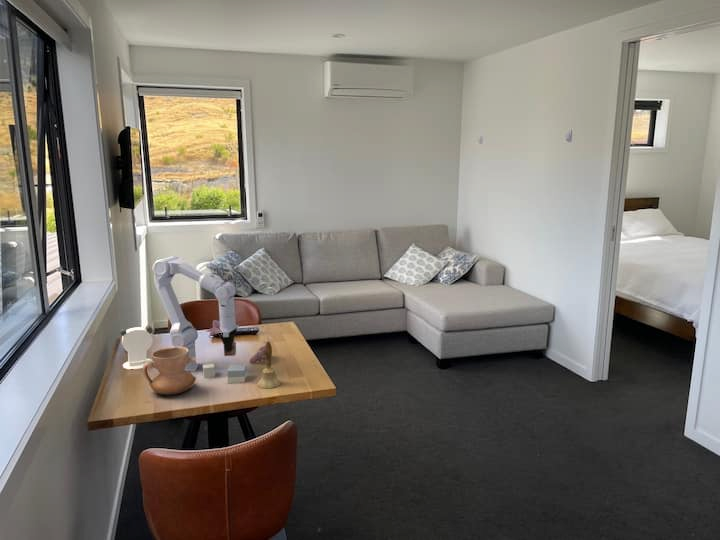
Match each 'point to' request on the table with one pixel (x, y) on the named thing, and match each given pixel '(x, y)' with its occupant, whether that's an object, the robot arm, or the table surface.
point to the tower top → (236, 371)
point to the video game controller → (258, 355)
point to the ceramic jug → (170, 371)
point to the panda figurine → (137, 346)
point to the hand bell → (268, 371)
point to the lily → (215, 328)
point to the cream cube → (209, 370)
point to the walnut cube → (231, 351)
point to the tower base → (236, 379)
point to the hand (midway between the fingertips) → (229, 349)
